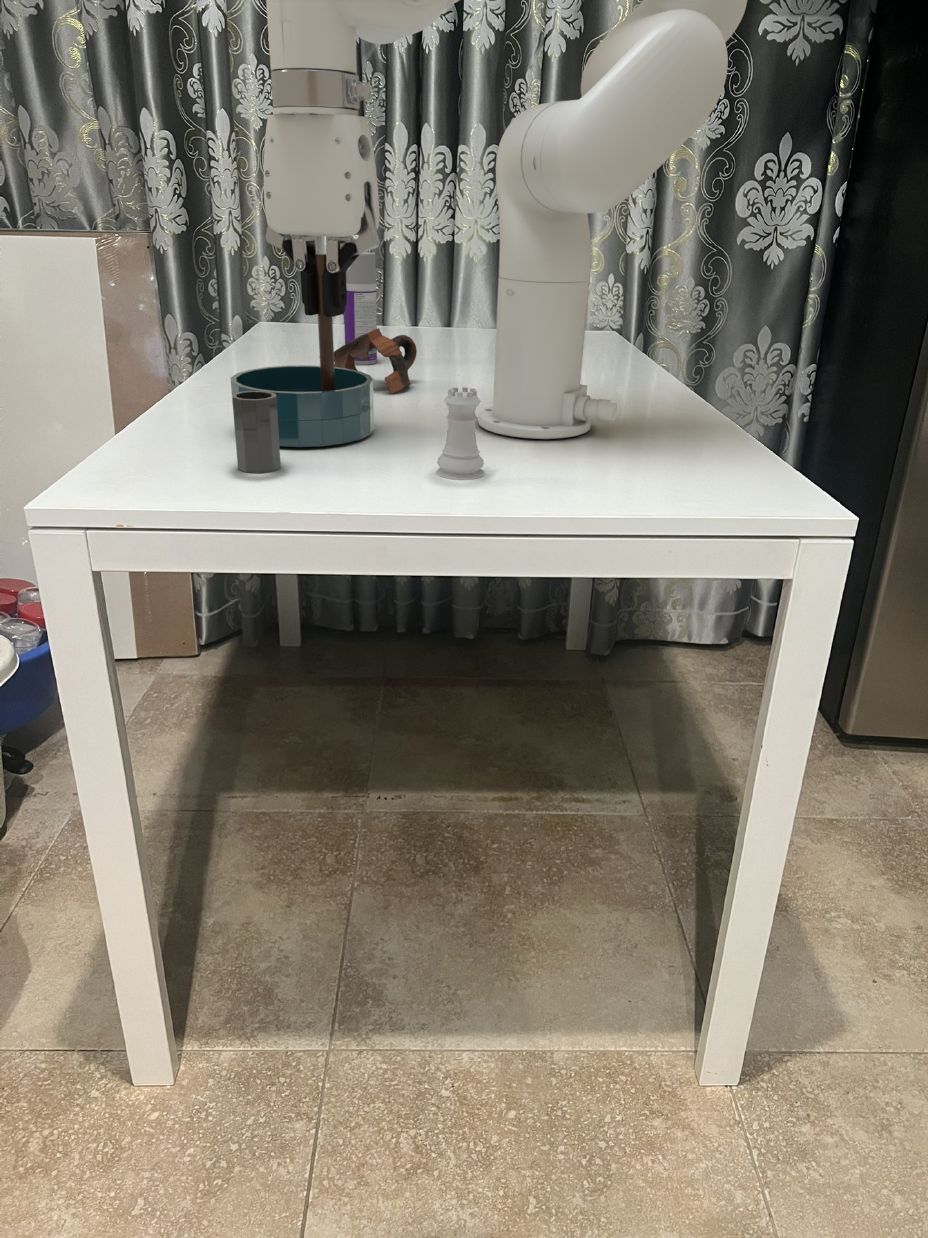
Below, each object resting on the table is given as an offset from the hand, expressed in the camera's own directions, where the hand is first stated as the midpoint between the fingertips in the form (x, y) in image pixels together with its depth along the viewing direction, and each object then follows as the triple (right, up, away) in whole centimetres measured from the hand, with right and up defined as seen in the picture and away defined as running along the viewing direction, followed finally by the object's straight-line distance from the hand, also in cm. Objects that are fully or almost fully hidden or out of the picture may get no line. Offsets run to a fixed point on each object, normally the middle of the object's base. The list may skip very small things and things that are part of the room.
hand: (325, 313), depth 88 cm
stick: (0, -10, +5) cm, 11 cm away
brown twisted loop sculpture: (+2, +1, +31) cm, 31 cm away
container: (-2, +8, +46) cm, 46 cm away
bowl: (-3, -11, +6) cm, 13 cm away
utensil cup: (-5, -16, -6) cm, 18 cm away
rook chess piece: (+13, -17, -5) cm, 22 cm away
